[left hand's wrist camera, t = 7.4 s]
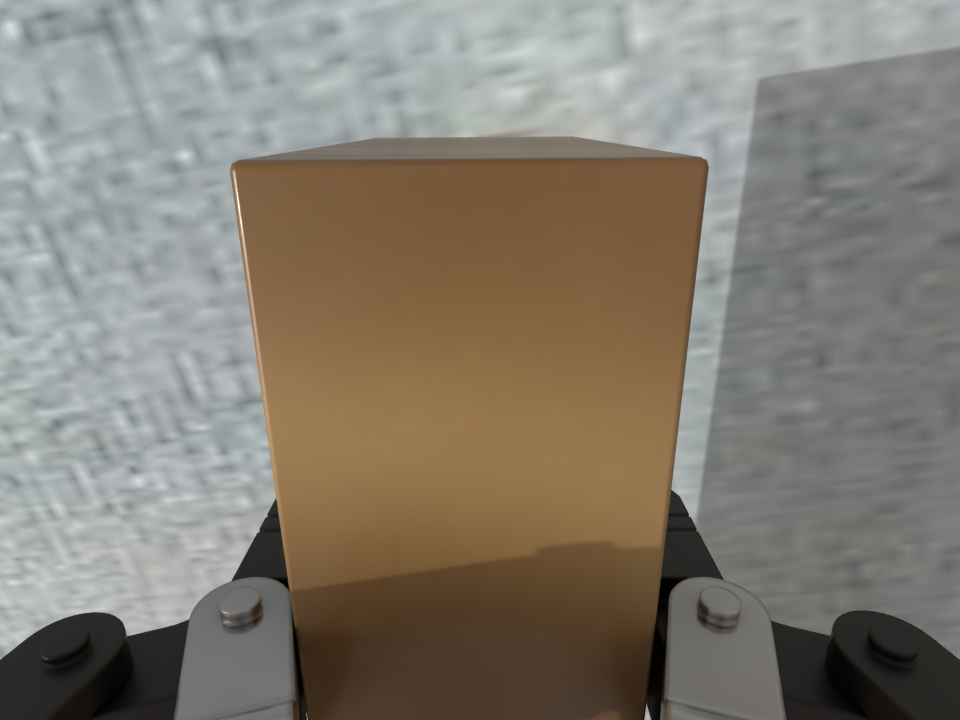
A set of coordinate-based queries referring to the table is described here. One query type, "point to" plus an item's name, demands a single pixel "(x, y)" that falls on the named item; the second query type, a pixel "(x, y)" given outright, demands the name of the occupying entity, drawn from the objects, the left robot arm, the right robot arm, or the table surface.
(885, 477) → the table surface
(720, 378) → the table surface
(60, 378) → the table surface
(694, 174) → the post
